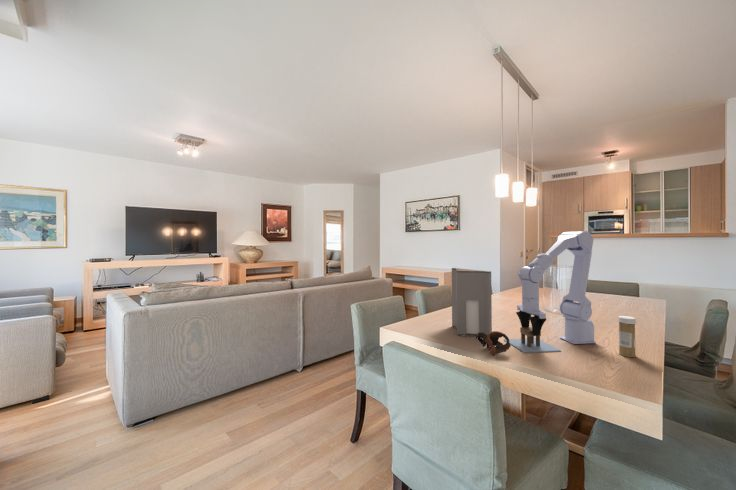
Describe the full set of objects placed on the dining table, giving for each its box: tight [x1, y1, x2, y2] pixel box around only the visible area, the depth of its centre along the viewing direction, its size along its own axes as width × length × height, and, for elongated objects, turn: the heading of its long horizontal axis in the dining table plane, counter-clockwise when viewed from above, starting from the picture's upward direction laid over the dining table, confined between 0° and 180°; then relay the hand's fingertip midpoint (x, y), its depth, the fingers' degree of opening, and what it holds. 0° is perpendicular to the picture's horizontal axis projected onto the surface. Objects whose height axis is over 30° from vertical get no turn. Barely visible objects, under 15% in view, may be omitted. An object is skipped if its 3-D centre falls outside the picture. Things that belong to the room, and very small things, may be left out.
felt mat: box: [503, 337, 562, 354], centre depth 115 cm, size 14×14×1 cm
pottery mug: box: [476, 330, 512, 356], centre depth 110 cm, size 12×10×8 cm
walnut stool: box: [519, 326, 542, 347], centre depth 115 cm, size 5×5×6 cm
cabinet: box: [451, 267, 493, 338], centre depth 131 cm, size 21×10×28 cm, turn 30°
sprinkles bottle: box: [618, 315, 637, 358], centre depth 104 cm, size 5×5×14 cm
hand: (530, 332), depth 115 cm, fingers open, 6 cm apart
